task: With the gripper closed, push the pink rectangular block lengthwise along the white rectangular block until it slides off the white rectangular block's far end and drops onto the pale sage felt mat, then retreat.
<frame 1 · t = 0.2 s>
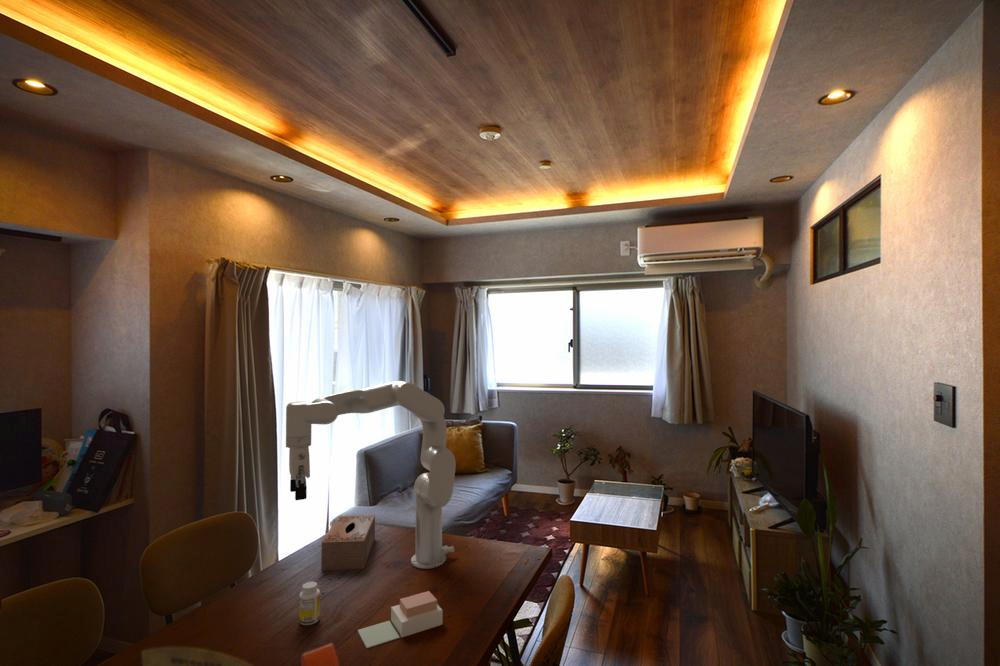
hand: (298, 495, 156), 31 cm above the table, fingers open, 9 cm apart
white rectangular block: (416, 622, 139), on the table
supplement bottle: (309, 621, 140), on the table
pink rectangular block: (418, 608, 140), point 4 cm above the table, touching white rectangular block
mat: (378, 634, 134), on the table
tissue box cover: (350, 554, 185), on the table
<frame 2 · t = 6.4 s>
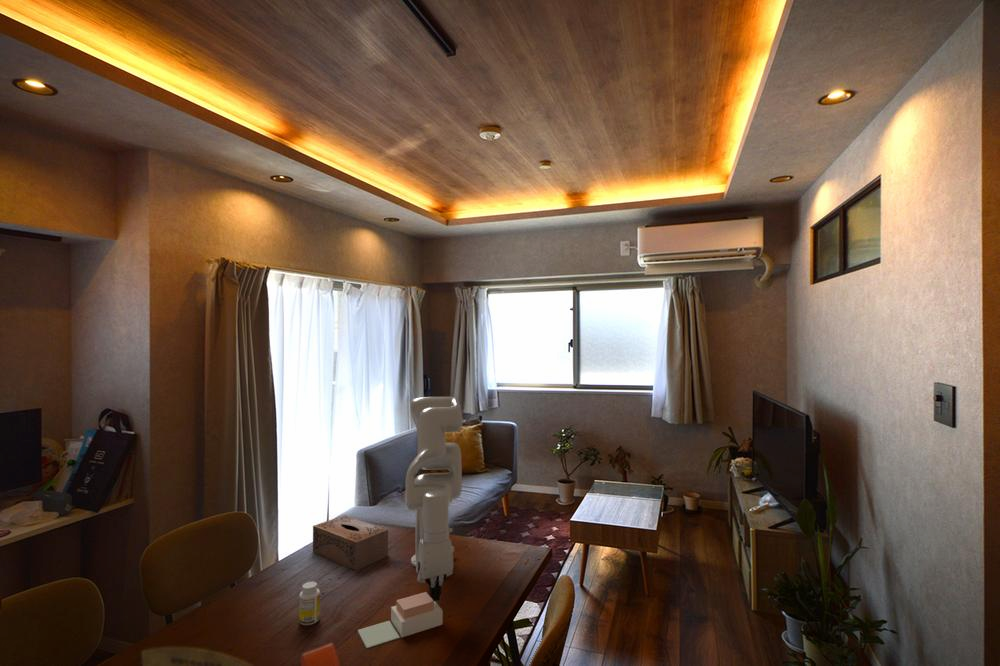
hand: (435, 598, 142), 5 cm above the table, fingers closed
pink rectangular block: (415, 609, 139), point 4 cm above the table
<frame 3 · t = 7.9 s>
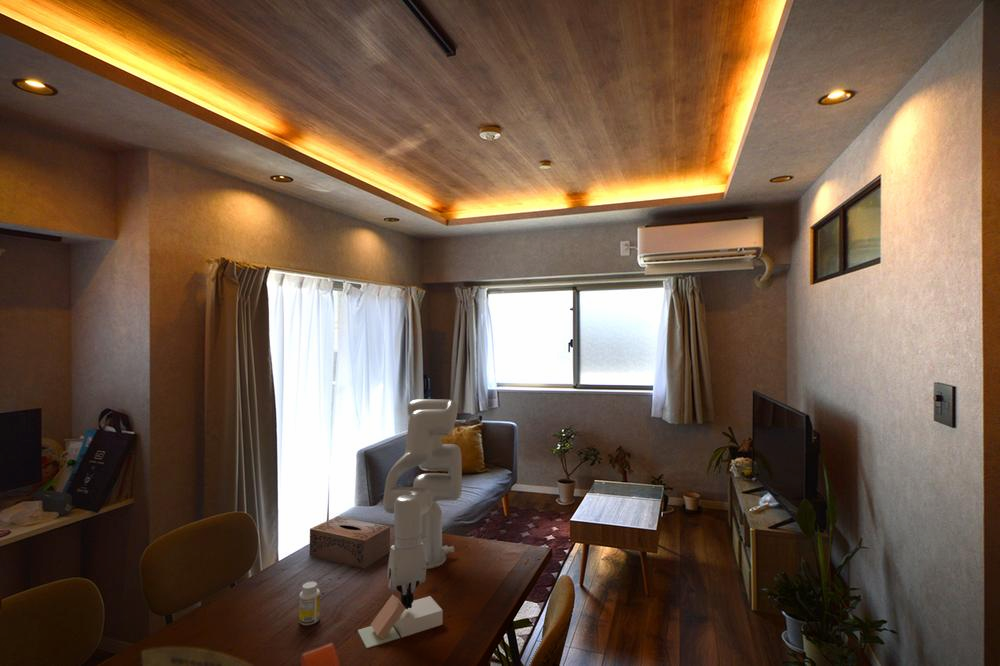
hand: (407, 606, 138), 6 cm above the table, fingers closed
pink rectangular block: (391, 618, 135), point 4 cm above the table, tilted 47°, touching gripper
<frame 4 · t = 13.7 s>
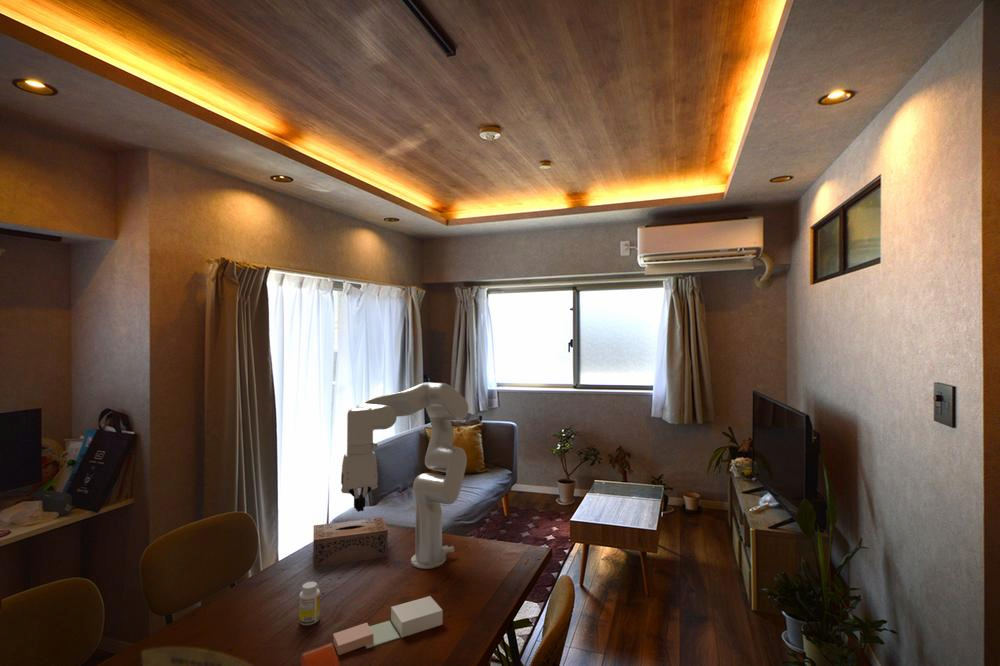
hand: (359, 509, 148), 29 cm above the table, fingers closed
pink rectangular block: (353, 633, 130), point 3 cm above the table, tilted 177°, touching mat
at the end: pink rectangular block point 2.6 cm above the table; pink rectangular block inside the target area (6.3 cm from its centre), point 2.6 cm above the table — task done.
